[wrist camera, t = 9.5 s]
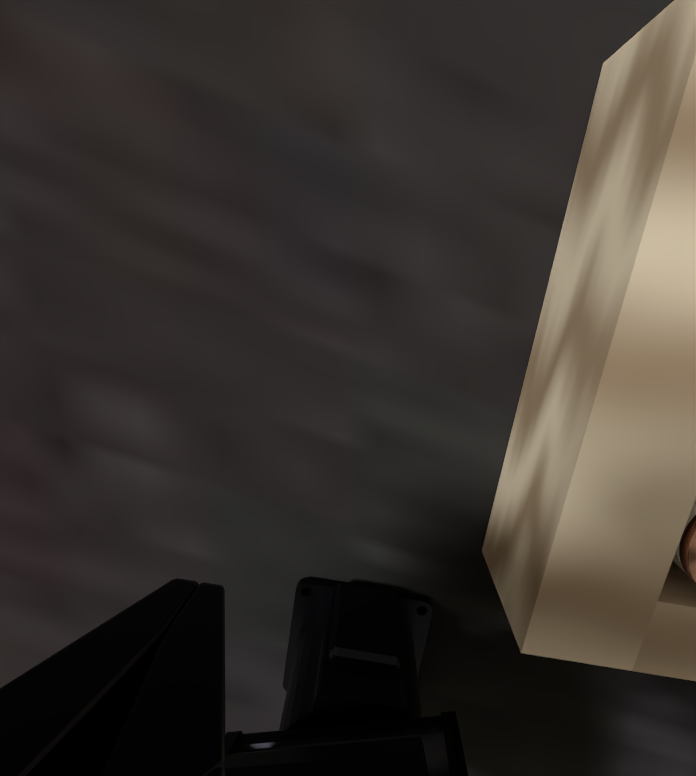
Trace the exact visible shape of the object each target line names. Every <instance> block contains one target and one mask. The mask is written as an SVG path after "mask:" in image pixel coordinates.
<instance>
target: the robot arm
mask: <svg viewBox="0 0 696 776" xmlns="http://www.w3.org/2000/svg"><path fill="white" fill-rule="evenodd" d="M303 588H310V590H311V591H305V590H304V589H303ZM420 606H424V607H426V608H424V609H418V607H420ZM432 613H433V609H432V603H431V601H430V600H429V599H428V598H427V597H424V596H420V595H413V594H407V593H401V592H395V591H391V590H385V589H379V588H372V587H366V586H360V585H354V584H347V583H339V582H332V581H326V580H320V579H314V578H303V579H301V580H300V581H299V582H298V584H297V588H296V593H295V601H294V608H293V615H292V622H291V630H290V637H289V644H288V651H287V659H286V666H285V673H284V680H283V687H284V689H285V690H286V691H287V694H286V699H285V704H284V708H283V713H282V718H281V723H280V728H279V731H270V732H259V733H248V734H243V733H242V731H236V732H227V733H226V735H225V592H224V587H223V586H222V585H216V584H210V583H201V584H198V582H196V581H191V580H185V579H173V580H171V581H170V582H168V583H166V584H165V585H163V586H162V587H160V588H159V589H157V590H155V591H154V592H152V593H151V594H149V595H147V596H146V597H144V598H143V599H141V600H139V601H138V602H136V603H135V604H133V605H132V606H130V607H128V608H127V609H125V610H124V611H122V612H120V613H119V614H117V615H116V616H114V617H113V618H111V619H109V620H108V621H106V622H105V623H103V624H101V625H100V626H98V627H97V628H95V629H93V630H92V631H90V632H89V633H87V634H86V635H84V636H82V637H81V638H79V639H78V640H76V641H74V642H73V643H71V644H70V645H68V646H67V647H65V648H63V649H62V650H60V651H59V652H57V653H55V654H54V655H52V656H51V657H49V658H47V659H46V660H44V661H43V662H41V663H40V664H38V665H36V666H35V667H33V668H32V669H30V670H28V671H27V672H25V673H24V674H22V675H21V676H19V677H17V678H16V679H14V680H13V681H11V682H9V683H8V684H6V685H5V686H3V687H1V688H0V776H468V772H467V767H466V762H465V757H464V752H463V747H462V742H461V737H460V732H459V728H458V723H457V718H456V713H455V711H451V712H441V716H432V717H422V714H421V704H420V695H419V686H418V674H419V670H420V666H421V661H422V657H423V652H424V648H425V644H426V639H427V635H428V630H429V626H430V622H431V617H432Z"/></svg>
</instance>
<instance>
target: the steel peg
mask: <svg viewBox="0 0 696 776" xmlns="http://www.w3.org/2000/svg"><path fill="white" fill-rule="evenodd" d="M673 561H674V562H675V563H676V564H677V565H678V566H679V567H680V568H681V569H682V570H683V571H684V572H685V573H686V574H687V575H688V576H689V577H690V578H691V579H692V580H693V581H694V582H695V583H696V499H695V501H694V504H693V507H692V509H691V512H690V515H689V517H688V520H687V523H686V526H685V528H684V531H683V534H682V536H681V539H680V542H679V545H678V547H677V550H676V553H675V555H674V558H673Z"/></svg>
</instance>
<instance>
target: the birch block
mask: <svg viewBox="0 0 696 776" xmlns="http://www.w3.org/2000/svg"><path fill="white" fill-rule="evenodd" d="M695 499H696V0H674V1H673V2H672V3H671V4H670V5H668V6H667V7H666V8H665V9H664V10H663V11H662V12H661V13H659V14H658V15H657V16H656V17H655V18H654V19H653V20H651V21H650V22H649V23H648V24H647V25H646V26H645V27H644V28H642V29H641V30H640V31H639V32H638V33H637V34H636V35H635V36H633V37H632V38H631V39H630V40H629V41H628V42H627V43H625V44H624V45H623V46H622V47H621V48H620V49H619V50H618V51H616V52H615V53H614V54H613V55H612V56H611V57H610V58H609V59H607V60H606V61H605V62H604V63H603V66H602V70H601V74H600V78H599V82H598V86H597V90H596V94H595V98H594V102H593V106H592V110H591V114H590V118H589V122H588V126H587V130H586V134H585V138H584V142H583V146H582V150H581V154H580V158H579V162H578V166H577V170H576V174H575V178H574V182H573V186H572V190H571V194H570V198H569V202H568V206H567V210H566V214H565V218H564V222H563V226H562V230H561V234H560V238H559V242H558V246H557V250H556V255H555V259H554V263H553V267H552V271H551V275H550V279H549V283H548V287H547V291H546V295H545V299H544V303H543V307H542V311H541V315H540V319H539V323H538V327H537V331H536V335H535V339H534V343H533V347H532V351H531V355H530V359H529V363H528V367H527V371H526V375H525V379H524V383H523V387H522V391H521V395H520V399H519V403H518V407H517V411H516V415H515V419H514V423H513V427H512V431H511V435H510V439H509V443H508V447H507V451H506V455H505V459H504V463H503V467H502V471H501V475H500V479H499V483H498V487H497V491H496V495H495V499H494V503H493V507H492V511H491V515H490V519H489V523H488V528H487V532H486V536H485V540H484V544H483V548H482V553H483V555H484V558H485V561H486V563H487V566H488V568H489V571H490V574H491V576H492V579H493V581H494V584H495V587H496V589H497V592H498V595H499V597H500V600H501V602H502V605H503V608H504V610H505V613H506V615H507V618H508V621H509V623H510V626H511V628H512V631H513V634H514V636H515V639H516V641H517V644H518V647H519V649H520V652H521V653H524V654H530V655H536V656H543V657H549V658H555V659H561V660H567V661H574V662H580V663H586V664H592V665H598V666H604V667H611V668H617V669H623V670H629V671H635V672H642V673H648V674H654V675H660V676H666V677H673V678H679V679H685V680H691V681H696V583H695V582H694V581H693V580H692V579H691V578H690V577H689V576H688V575H687V574H686V573H685V572H684V571H683V570H682V569H681V568H680V567H679V566H678V565H677V564H676V563H675V562H674V561H673V558H674V555H675V553H676V550H677V547H678V545H679V542H680V539H681V536H682V534H683V531H684V528H685V526H686V523H687V520H688V517H689V515H690V512H691V509H692V507H693V504H694V501H695Z"/></svg>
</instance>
